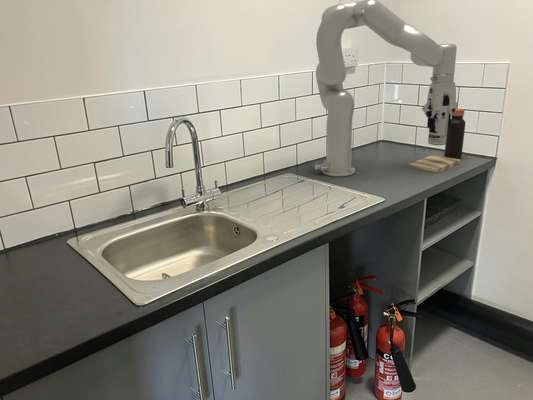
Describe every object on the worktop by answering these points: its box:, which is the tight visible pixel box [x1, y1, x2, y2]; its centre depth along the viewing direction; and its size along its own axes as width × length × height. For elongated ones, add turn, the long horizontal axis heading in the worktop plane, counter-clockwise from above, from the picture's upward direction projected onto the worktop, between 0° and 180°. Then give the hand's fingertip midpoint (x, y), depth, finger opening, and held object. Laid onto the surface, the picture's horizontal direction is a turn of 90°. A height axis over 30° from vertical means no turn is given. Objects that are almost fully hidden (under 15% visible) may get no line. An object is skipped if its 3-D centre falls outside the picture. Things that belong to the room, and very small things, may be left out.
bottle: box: [443, 108, 466, 160], centre depth 180 cm, size 7×7×20 cm
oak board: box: [408, 154, 461, 174], centre depth 174 cm, size 18×12×2 cm, turn 131°
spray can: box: [427, 93, 450, 146], centre depth 168 cm, size 7×7×20 cm
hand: (438, 126), depth 169 cm, fingers closed on spray can, 6 cm apart
